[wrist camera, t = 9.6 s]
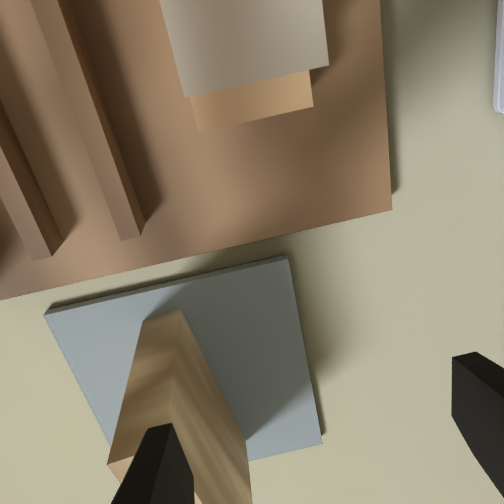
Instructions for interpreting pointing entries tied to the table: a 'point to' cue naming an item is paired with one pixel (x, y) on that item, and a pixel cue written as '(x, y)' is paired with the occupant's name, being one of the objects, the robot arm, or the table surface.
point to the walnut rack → (168, 145)
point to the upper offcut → (243, 40)
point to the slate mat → (205, 349)
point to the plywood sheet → (182, 412)
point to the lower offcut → (252, 101)
